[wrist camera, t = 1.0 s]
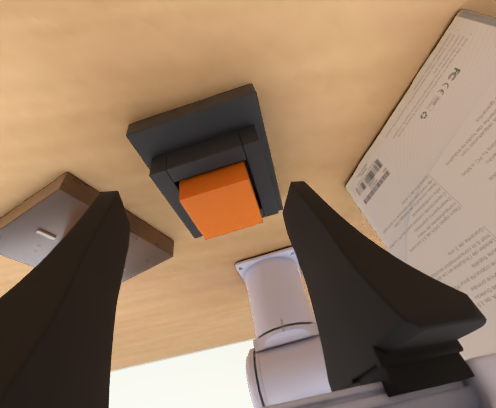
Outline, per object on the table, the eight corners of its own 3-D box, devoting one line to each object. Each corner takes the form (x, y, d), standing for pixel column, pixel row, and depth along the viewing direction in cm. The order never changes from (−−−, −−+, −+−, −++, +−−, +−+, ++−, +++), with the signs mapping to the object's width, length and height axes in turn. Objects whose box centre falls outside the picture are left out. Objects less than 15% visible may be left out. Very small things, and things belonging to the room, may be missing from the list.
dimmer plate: (173, 240, 28) (173, 257, 27) (107, 276, 30) (103, 293, 29) (67, 171, 20) (58, 190, 18) (-13, 227, 22) (-27, 247, 21)
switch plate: (279, 199, 26) (289, 225, 24) (195, 224, 27) (197, 253, 24) (251, 82, 17) (263, 106, 15) (128, 124, 18) (120, 153, 16)
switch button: (258, 204, 22) (263, 222, 20) (203, 220, 22) (205, 240, 20) (243, 160, 18) (248, 178, 17) (179, 180, 18) (178, 200, 17)
